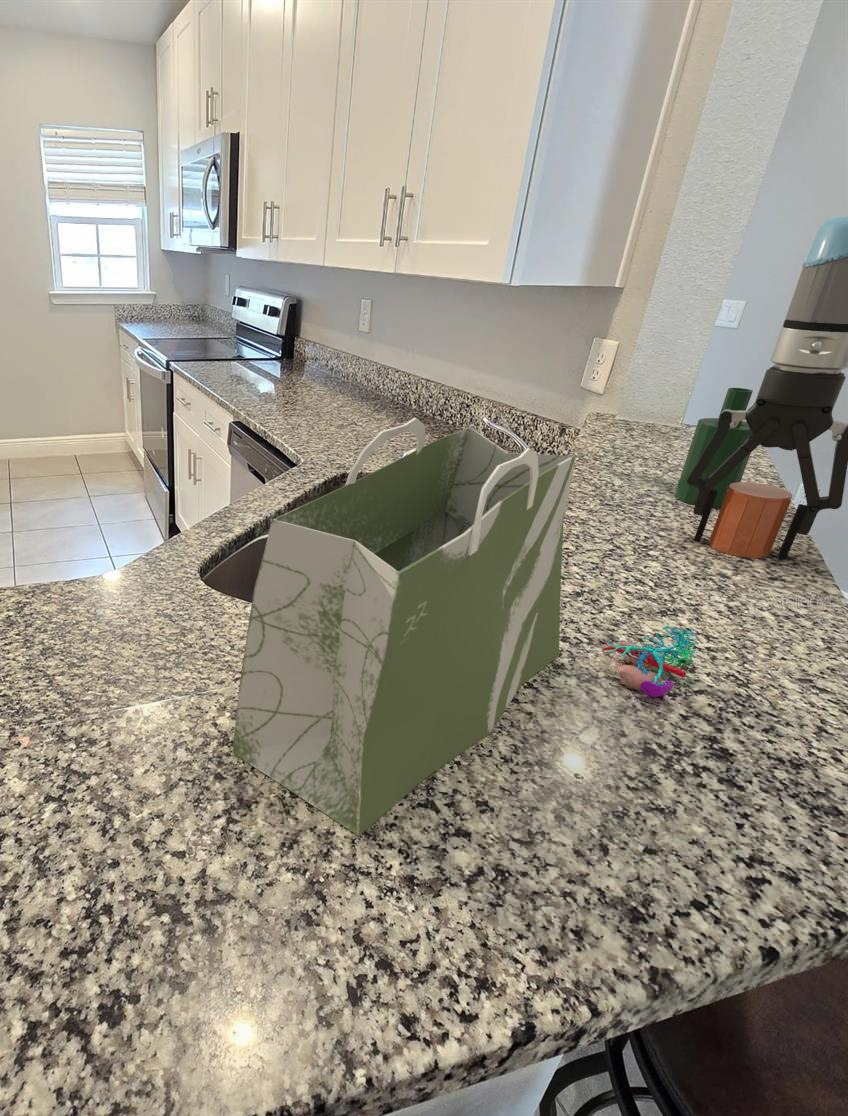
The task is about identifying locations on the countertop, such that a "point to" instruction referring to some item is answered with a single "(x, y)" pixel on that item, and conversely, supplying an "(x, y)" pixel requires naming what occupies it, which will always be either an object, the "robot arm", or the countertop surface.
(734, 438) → the bottle
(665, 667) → the anatomy model
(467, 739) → the grocery bag
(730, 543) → the orange octagonal cylinder
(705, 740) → the countertop surface
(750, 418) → the robot arm
